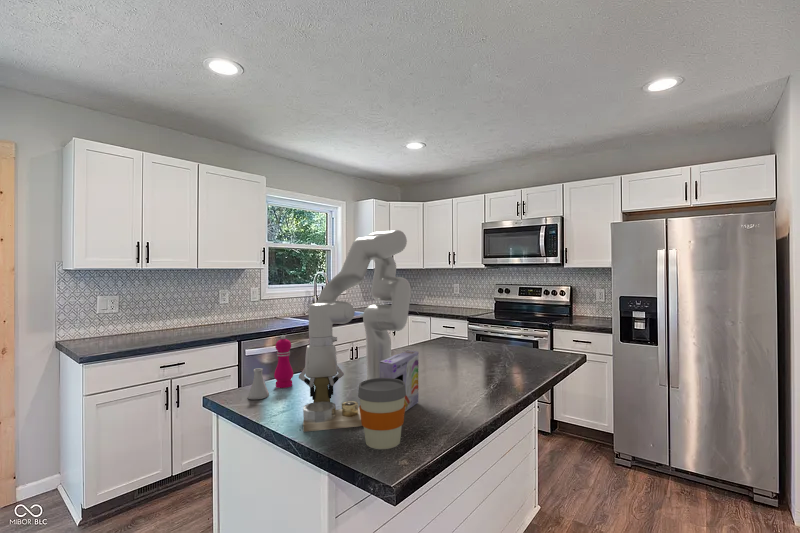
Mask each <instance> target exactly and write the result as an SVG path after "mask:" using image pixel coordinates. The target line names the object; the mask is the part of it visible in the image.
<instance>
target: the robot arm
mask: <svg viewBox="0 0 800 533" xmlns="http://www.w3.org/2000/svg"><path fill="white" fill-rule="evenodd" d="M407 242H408V240H407V237H406V234H405V233H404V232H403V231H402V230H399V229H392V230H381V231H380V230H379V231H375V232H371V233H369V234H368V235H367V236H362V237H357V238H356V239H354V241H352V244H351V246H350V249H349V250H348V253H347V256H346V258H345V260H344V262H343V265H342V267H341V269H340V271H339V272H338V273H337V274H336V275H335V276H334V277H333V278H332V279H330V280H329V282H328V283H327V284H326V285H325V286H324V287H323V289H322V290H321V292H320V293H319V297H318V299H317V300H316V303H310V305H309V307H308V345H307V346H306V349H305V363H304V368H302V371H300V373H299V374H298V379H299V380H301V381H302V382H304V383H305V384H306V385H307V386H308V387H309V397H310V398H311V397H312V400H311V401H314V399H315V386H314V379H315V378H321V377H328V378H329V381H330V382H329V385H328V389H329V398H330V400H331V399H332V396H333V395H334V386H335V384H336V383H337V382H338V381H339V379H341V378H343V376H344V375H345V374H344V373H345V372H344V371H343V370H342V369H341V368H340V366H339V364H338V358H337V357H338V356H337V350H336V344H334V343H335V342H338V336H334V335H333V325H334V324H339V325H340V324H343V325H344V324H348V323H350V322H351V321H352V320H353V318H354V317H355V314H356V313H355V311H356V310H355V307H354V306H353V305H352V303H350V302H348V301H343V300H337V299H338V298H339V296H341V294H342V293H343V294H344V292H346V291H347V290H349V289H351V288H353V287H355V286H357V285H359V284H360V283H362V282H363V280H364V278H365V276H366V273H367V270H368V268H369V265H370V262H371V261H372V260H373V261H374V270H373V277H372V278H373V279H372V283H371V291H370V292H371V297H372V299H374V300H375V301H378V302H387V303H391V304H379V303H378V304H377V303H376V304H371V305H368V306H367V307H365V309H364V311H363V315H362V319H363V326H364V331H365V346H366V347H365V349H366V350H365V351H366V357H365V358H366V380H369V379H375V378H380V361H383V360H385V359H388V358H390V357H392V342H391V341H392V340H391V337H390V334H389V331H390V332H398V331H402V330H404V328H405V327H406V325H407V323H408V322H407V321H408V316H409V310H410V303H411V296H412V294H411V293H412V290H411V289H412V288H411V285H410V282H409V280H408V279H406V277H402V276H396V272H397V263H396V260H395V258H394V257H393V256H395V255H397V254H400V253H401V252H403V251H404V250H405V248H406V247H407Z"/></svg>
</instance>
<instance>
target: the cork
mask: <svg viewBox="0 0 800 533" xmlns="http://www.w3.org/2000/svg"><path fill="white" fill-rule="evenodd" d="M329 382H330V381H329V378H328V377H321V378H315V379H314V383H313V384H314V386H315V399H314V400H313V402H322V401H325V402H331V399H330V398H329Z"/></svg>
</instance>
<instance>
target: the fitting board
mask: <svg viewBox="0 0 800 533" xmlns="http://www.w3.org/2000/svg"><path fill="white" fill-rule="evenodd" d="M302 425H303V428H302V431H303V433H305V432H317V431H326V430H336V429H345V428H346V429H347V428H353V427H354V428H355V427H356V428H357V427H363V426H362V423H361V416H360V409H359V407H358V415H356V416H353V417H345V416H342V408H340V409H339V408H337V409H336V417H335V418H334V419H332V420H330V421H326V422H320V423H311V422H307V421H305V420H304V419H303V423H302Z"/></svg>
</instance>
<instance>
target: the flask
mask: <svg viewBox="0 0 800 533" xmlns="http://www.w3.org/2000/svg"><path fill="white" fill-rule="evenodd" d="M263 371H264V368H261V367H260V368H258V367H257V368H254V369H253V370H252V372H253V374H254V376H253V380H252V385H251V387H250V390H249V393H248V395H247V399H249V400H263V399H265V398H268V397H269V396H270V392H269V390H268V387H267V386H266V383H265V380H264V376H263Z"/></svg>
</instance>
